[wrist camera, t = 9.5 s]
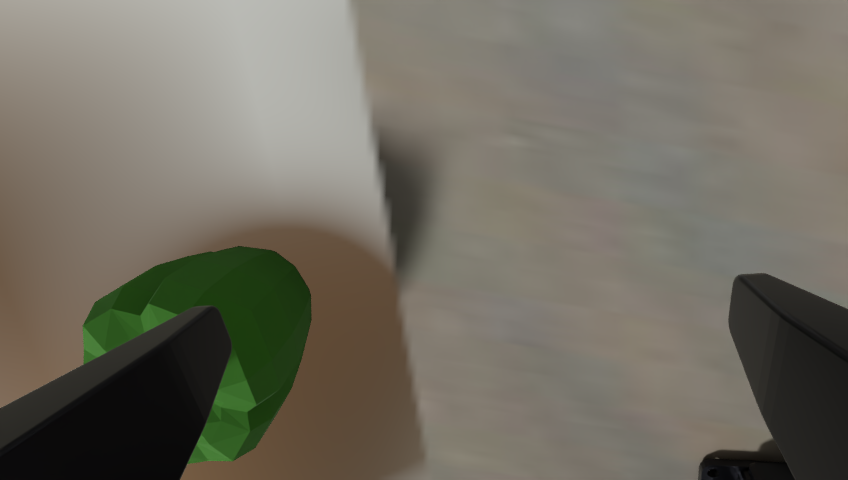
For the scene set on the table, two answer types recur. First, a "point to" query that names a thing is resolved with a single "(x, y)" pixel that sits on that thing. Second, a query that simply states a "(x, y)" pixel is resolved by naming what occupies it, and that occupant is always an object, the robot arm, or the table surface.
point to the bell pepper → (247, 326)
